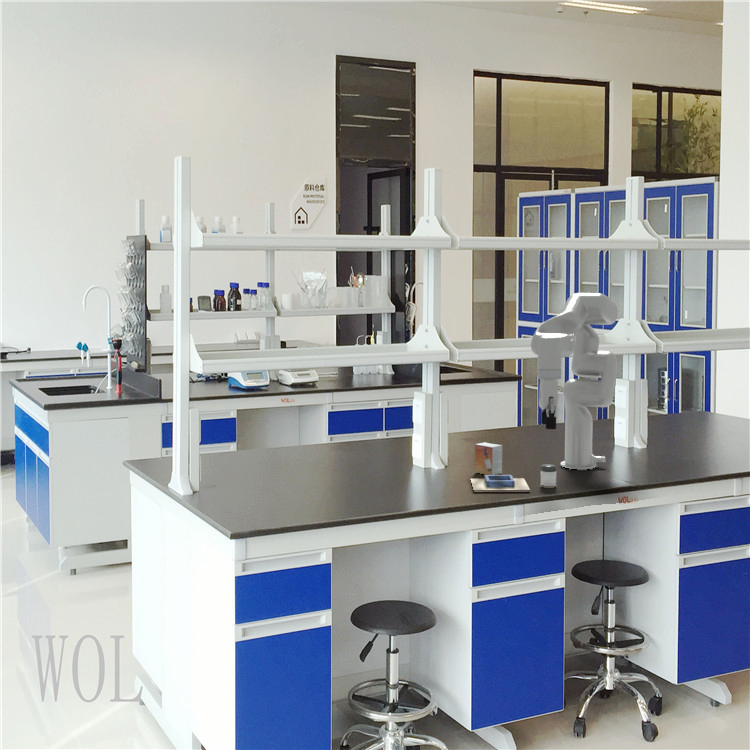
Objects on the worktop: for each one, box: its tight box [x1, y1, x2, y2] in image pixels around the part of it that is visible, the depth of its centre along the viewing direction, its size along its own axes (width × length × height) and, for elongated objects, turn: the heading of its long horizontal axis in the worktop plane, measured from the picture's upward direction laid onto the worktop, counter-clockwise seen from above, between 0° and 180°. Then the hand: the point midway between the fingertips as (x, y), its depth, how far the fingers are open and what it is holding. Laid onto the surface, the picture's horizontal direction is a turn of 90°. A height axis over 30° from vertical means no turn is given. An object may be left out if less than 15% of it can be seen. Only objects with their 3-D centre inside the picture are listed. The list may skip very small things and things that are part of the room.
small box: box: [474, 441, 503, 475], centre depth 342 cm, size 8×6×10 cm
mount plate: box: [469, 474, 531, 491], centre depth 324 cm, size 18×16×3 cm
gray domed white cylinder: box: [540, 463, 557, 487], centre depth 323 cm, size 5×5×7 cm
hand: (548, 426), depth 321 cm, fingers open, 9 cm apart
